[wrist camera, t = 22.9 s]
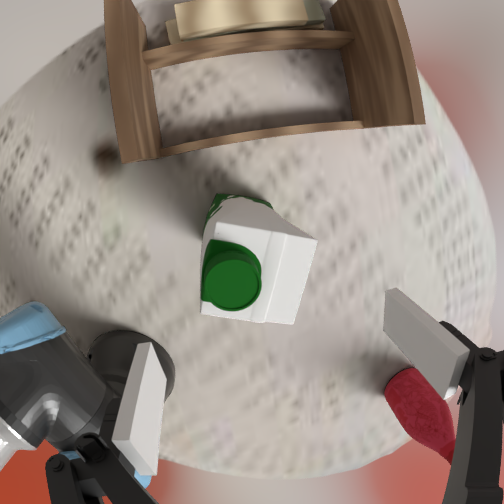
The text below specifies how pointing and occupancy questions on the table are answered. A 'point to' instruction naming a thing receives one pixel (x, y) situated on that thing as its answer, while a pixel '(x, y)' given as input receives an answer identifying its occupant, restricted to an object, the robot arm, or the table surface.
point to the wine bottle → (422, 411)
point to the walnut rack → (344, 38)
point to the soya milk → (252, 262)
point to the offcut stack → (241, 18)
